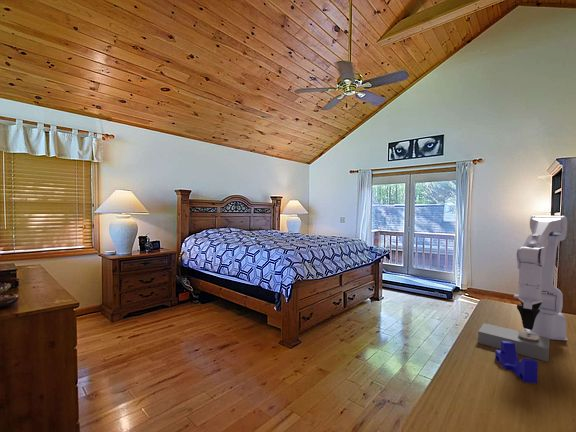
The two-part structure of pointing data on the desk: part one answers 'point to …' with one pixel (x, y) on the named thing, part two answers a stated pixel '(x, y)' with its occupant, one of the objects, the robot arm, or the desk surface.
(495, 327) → the grey flat block
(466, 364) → the desk surface
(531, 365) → the cable clip
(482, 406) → the desk surface
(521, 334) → the headed pin
